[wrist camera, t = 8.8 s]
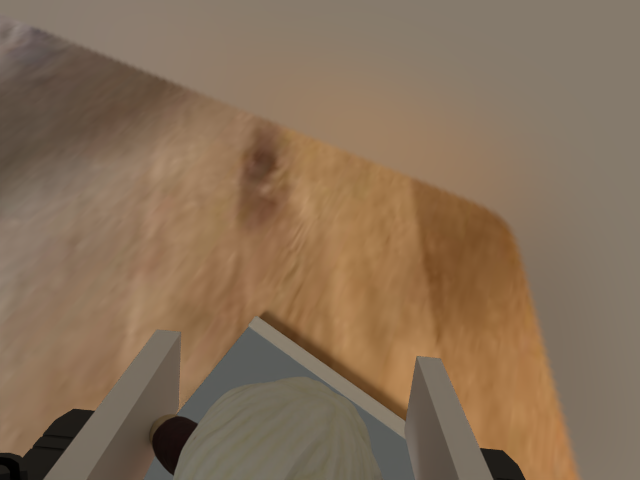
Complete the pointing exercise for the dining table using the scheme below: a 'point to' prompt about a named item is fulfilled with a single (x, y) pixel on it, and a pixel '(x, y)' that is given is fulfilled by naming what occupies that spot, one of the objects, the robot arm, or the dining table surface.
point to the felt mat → (293, 361)
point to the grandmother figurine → (269, 436)
